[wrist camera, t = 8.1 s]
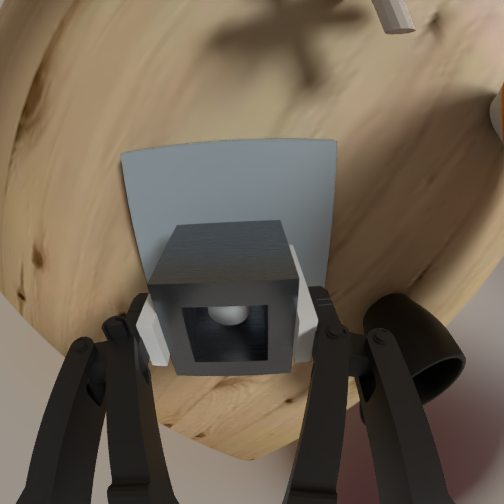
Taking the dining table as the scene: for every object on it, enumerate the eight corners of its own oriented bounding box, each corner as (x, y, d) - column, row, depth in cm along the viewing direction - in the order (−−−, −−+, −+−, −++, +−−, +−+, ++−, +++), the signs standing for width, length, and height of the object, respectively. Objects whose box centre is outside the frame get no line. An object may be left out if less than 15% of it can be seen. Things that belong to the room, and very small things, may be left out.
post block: (126, 151, 17) (61, 184, 10) (332, 139, 17) (390, 163, 10) (160, 311, 23) (139, 384, 16) (318, 305, 24) (341, 378, 17)
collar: (176, 225, 16) (147, 284, 10) (280, 219, 16) (299, 278, 10) (191, 305, 19) (177, 375, 13) (278, 302, 19) (290, 372, 13)
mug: (316, 359, 27) (334, 436, 19) (382, 271, 22) (434, 350, 14) (370, 367, 29) (394, 431, 21) (433, 292, 24) (479, 357, 16)
